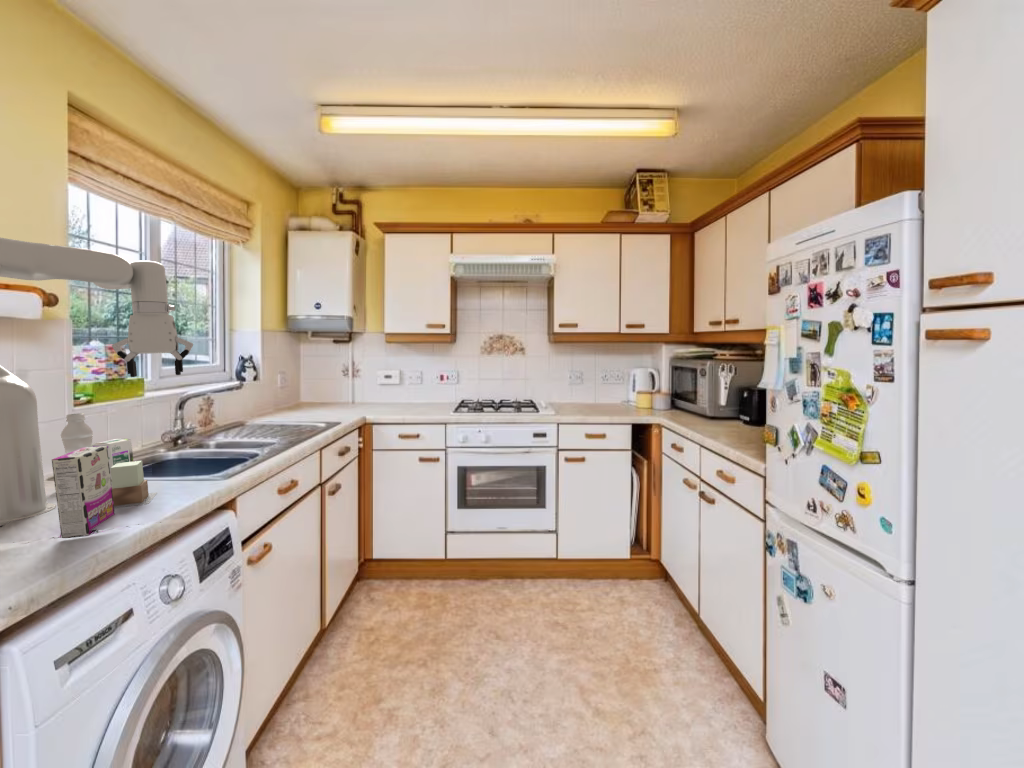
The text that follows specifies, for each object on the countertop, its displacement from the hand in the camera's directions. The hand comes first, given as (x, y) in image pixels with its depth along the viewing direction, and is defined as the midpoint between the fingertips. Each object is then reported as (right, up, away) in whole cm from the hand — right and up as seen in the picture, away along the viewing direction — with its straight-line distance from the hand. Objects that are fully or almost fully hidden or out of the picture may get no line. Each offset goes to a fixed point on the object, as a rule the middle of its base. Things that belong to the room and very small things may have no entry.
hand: (156, 375), depth 128 cm
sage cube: (+1, -26, -11) cm, 28 cm away
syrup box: (-7, -31, -3) cm, 32 cm away
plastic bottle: (-26, -31, +8) cm, 41 cm away
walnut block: (+1, -30, -10) cm, 32 cm away
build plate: (+1, -31, -10) cm, 33 cm away
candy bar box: (+4, -33, -25) cm, 41 cm away
